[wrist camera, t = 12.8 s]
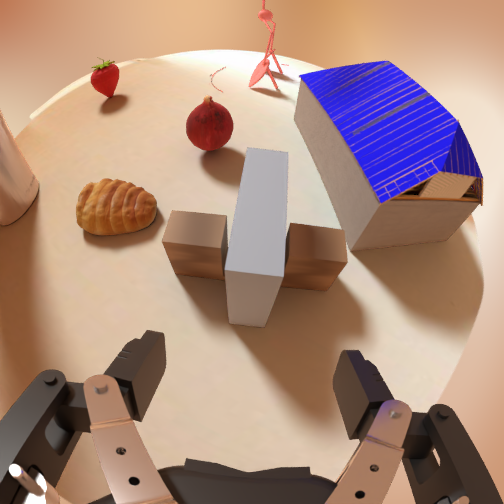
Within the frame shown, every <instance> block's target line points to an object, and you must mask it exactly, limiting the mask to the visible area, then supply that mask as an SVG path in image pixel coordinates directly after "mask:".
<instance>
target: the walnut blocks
mask: <svg viewBox="0 0 504 504" xmlns="http://www.w3.org/2000/svg"><path fill="white" fill-rule="evenodd" d="M162 243H163V245H164V248H165V250H166V253H167V255H168V258H169V260H170V263H171V265H172V267H173V270H174V272H175V274H180V275H187V276H195V277H203V278H210V279H218V280H225V265H226V259H227V253H228V248H229V247H228V240H227V216H226V215H217V214H206V213H196V212H185V211H173V210H172V212H171V215H170V218H169V221H168V224H167V227H166V230H165V233H164V236H163V239H162ZM347 263H348V261H347V250H346V240H345V231H344V230H340V229H333V228H326V227H319V226H311V225H304V224H296V223H290V226H289V229H288V233H287V236H286V243H285V263H284V277H283V280H282V283H281V286H280V287H290V288H300V289H311V290H321V291H327V290H328V288H329V287H330V286H331V284H332V283H333V282H334V280H335V279H336V278H337V276H338V275H339V274H340V272H341V271H342V270H343V268H344V267H345V265H346V264H347Z"/></svg>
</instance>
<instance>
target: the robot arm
mask: <svg viewBox="0 0 504 504" xmlns="http://www.w3.org/2000/svg"><path fill="white" fill-rule="evenodd" d="M38 188H39V183H38V180H37V179H36V177H35V175H34V174H33V172H32V170H31V169H30V167H29V165H28V163H27V162H26V160H25V158H24V156H23V154H22V153H21V151H20V149H19V147H18V145H17V143H16V141H15V139H14V138H13V135H12V133H11V131H10V129H9V127H8V125H7V123H6V121H5V119H4V116H3V114H2V112H1V110H0V224H1V225H8V224H11V223H13V222H14V221H16V220H17V219H18V218H20V217H21V216H22V215H23V214H24V213H25V212H26V210H27V209H28V208H29V207H30V205H31V204H32V202H33V201H34V199H35V197H36V195H37V192H38ZM165 368H166V351H165V337H164V333H161V332H155V331H150V330H147V331H146V332H145V333H144V335H143V336H142V338H141V339H136V338H135V339H133V340H132V341H130V342H128V343H127V344H126V345H125V346H124V348H123V349H122V351H121V352H120V353H119V354H118V357H116V358H115V359H114V361H113V362H112V363H111V365H110V366H109V367H108V369H107V370H106V371H105V373H104V374H103V375H95V376H92V377H90V378H88V379H87V380H86V381H85V383H74V382H67V381H66V378H65V376H64V374H63V373H62V372H60V371H58V370H46V371H43V372H41V373H40V374H39V375H38V376H37V377H36V378H35V379H34V380H33V382H32V383H31V384H30V385H29V386H28V388H27V389H26V390H25V391H24V392H23V394H22V395H21V396H20V397H19V398H18V400H17V401H16V402H15V403H14V405H13V406H12V407H11V408H10V410H9V411H8V412H7V413H6V415H5V416H4V417H3V419H2V420H1V421H0V504H60V498H59V494H58V493H57V491H56V490H55V487H56V485H57V483H58V481H59V478H60V476H61V474H62V472H63V470H64V468H65V466H66V464H67V462H68V460H69V458H70V456H71V454H72V452H73V450H74V448H75V446H76V444H77V442H78V440H79V438H80V436H81V434H82V432H89V433H91V434H92V437H93V441H94V444H95V448H96V451H97V454H98V457H99V460H100V463H101V466H102V469H103V472H104V475H105V477H106V480H107V483H108V485H109V488H110V490H111V494H109V495H107V496H105V497H103V498H100V499H98V500H96V501H93V502H91V503H88V504H382V502H383V500H384V498H385V495H386V494H387V492H388V489H389V487H390V485H391V483H392V480H393V478H394V476H395V474H396V471H397V469H398V466H399V464H400V461H401V459H402V462H403V465H404V468H405V471H406V474H407V476H408V480H409V483H410V486H411V489H412V493H413V496H414V499H415V502H416V504H503V502H502V499H501V497H500V495H499V493H498V490H497V488H496V486H495V484H494V482H493V480H492V478H491V476H490V474H489V472H488V470H487V468H486V466H485V464H484V462H483V460H482V458H481V457H480V455H479V453H478V451H477V449H476V447H475V446H474V444H473V442H472V440H471V439H470V437H469V435H468V433H467V432H466V430H465V428H464V427H463V425H462V423H461V422H460V420H459V418H458V417H457V416H456V414H455V412H454V411H453V409H452V408H450V407H449V406H447V405H444V404H435V405H433V406H432V407H431V408H430V409H429V411H428V412H427V413H419V412H412V411H411V409H410V407H409V406H408V405H407V404H406V403H404V402H402V401H399V400H395V399H394V398H393V396H392V394H391V392H390V390H389V389H388V387H387V385H386V383H385V381H383V378H382V376H381V375H380V373H379V371H378V369H377V367H376V366H375V365H374V364H372V363H371V362H370V361H369V360H365V359H364V358H363V356H362V354H361V352H360V351H359V350H343V351H342V352H341V355H340V358H339V361H338V364H337V367H336V371H335V374H334V377H333V389H334V392H335V395H336V398H337V402H338V405H339V408H340V411H341V414H342V417H343V421H344V424H345V427H346V430H347V434H348V437H349V440H352V439H359V441H360V443H359V445H358V447H357V448H356V450H355V452H354V453H353V455H352V457H351V458H350V460H349V462H348V463H347V465H346V466H345V468H344V469H343V471H342V473H341V474H340V476H339V477H338V478H337V480H336V481H335V482H333V481H331V480H329V479H327V478H324V477H321V476H317V475H312V474H311V473H310V467H280V468H274V469H269V470H263V471H256V472H244V471H240V470H237V469H233V468H230V467H227V466H224V465H221V464H218V463H212V462H205V461H199V460H193V459H188V458H186V461H185V465H184V466H172V467H166V468H163V469H159V470H157V469H156V468H155V466H154V464H153V462H152V460H151V458H150V456H149V454H148V452H147V450H146V448H145V446H144V444H143V442H142V440H141V438H140V435H139V433H138V431H137V429H136V426H135V424H134V422H133V420H136V421H139V422H142V420H143V417H144V415H145V413H146V411H147V409H148V407H149V404H150V402H151V400H152V398H153V396H154V394H155V391H156V389H157V387H158V385H159V383H160V381H161V379H162V377H163V374H164V372H165ZM434 448H435V449H436V451H437V453H438V456H439V458H440V466H439V465H438V463H437V460H436V458H435V456H434V454H433V450H434Z"/></svg>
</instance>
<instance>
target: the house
mask: <svg viewBox="0 0 504 504" xmlns="http://www.w3.org/2000/svg"><path fill="white" fill-rule="evenodd" d="M299 77H301V82H300V88H299V94H298V99H297V105H296V110H295V115H294V121H295V123H296V125H297V127H298V129H299V131H300V133H301V135H302V137H303V139H304V141H305V143H306V145H307V148H308V150H309V152H310V154H311V156H312V158H313V161H314V163H315V165H316V167H317V170H318V172H319V174H320V176H321V179H322V181H323V183H324V186H325V188H326V190H327V193H328V195H329V198H330V200H331V203H332V205H333V208H334V210H335V213H336V215H337V218H338V221H339V223H340V226H341V228H342V230H344V231H345V239H346V242H347V245H348V248H349V251H358V250H368V249H377V248H386V247H394V246H403V245H412V244H421V243H429V242H438V241H446V240H447V239H448V238H449V237H450V236H451V235H452V234H453V233H454V232H455V231H456V230H457V229H458V228H459V226H460V225H461V224H462V223H463V222H464V221H465V220H466V219H467V218H468V217H469V215H470V214H471V213H472V212H473V211H474V210H475V209H476V207H477V206H478V205H479V204H481V206H482V205H483V176H482V174H481V171H480V168H479V166H478V163H477V162H476V158H475V156H474V154H473V152H472V149H471V147H470V144H469V142H468V140H467V138H466V136H465V134H464V132H463V130H462V128H461V126H460V124H459V120H456V119H455V118H454V117H453V116H452V115H451V114H450V113H449V112H448V111H447V110H446V109H445V108H444V107H443V106H442V105H441V104H440V103H439V102H438V101H437V100H436V99H435V98H434V97H433V96H432V95H430V94H429V93H428V92H427V91H426V90H425V89H424V88H422V87H421V86H420V85H419V84H418V83H417V82H415V81H414V80H413V79H411V78H410V77H409V76H408V75H406V74H405V73H404V72H403V71H402V70H400V69H399V68H398V67H396V66H395V65H394V64H392V63H391V62H389V61H379V62H371V63H362V64H355V65H349V66H342V67H337V68H331V69H326V70H321V71H316V72H312V73H307V74H303V75H299ZM471 187H472V188H471ZM402 193H417V194H419V195H401V194H402Z"/></svg>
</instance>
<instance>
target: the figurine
mask: <svg viewBox="0 0 504 504" xmlns="http://www.w3.org/2000/svg"><path fill="white" fill-rule="evenodd" d="M262 2H263V5H262V6H263V10H261V11H260V12H259V14H258V17H259V19H260V20H261V21H264V22H265V24H266V26H267V27H268V29H269V31H270V32H271V35H270V38H269V42H268V46H267V50H266V54H265V58H264V59H263V60H262V61H261V62H260V63H259V64H258V65H257V67H256V69H255V70H254V72H253V74H252V76H251V80H250V83H249V87H251V86H253V85H254V84H256V83H257V82H258V81H259V80H260V79H261V78H262V77H263V76H264V74H265V73H266V71H267V72H268V74H269V76H270V78H271V80H272V82H273V84H274V86H275V88H278V86H277V84H276V82H275V80H274V78H273V75H272V73H271V71H270V69H269V64H270V63H269V60H268V59H267V58H268V57H269V56H270V55H271V54H272V57H273V59H274V61H275V63H276V65H277V67H278V69H279V71H280V74H282V73H283V72H282V70H281V68H280V66H279V63H278V61H277V59H276V57H275V55H274V53H273V52H274V51H275V49H274V50H272V45H273V38H274V31H275V23H274V22H273V21H271V19H272V18H273V15H272V13H271V12H270V11H269V10H265V0H263V1H262ZM267 21H270V22H272V23H273V24H274V27H273V32H272V30H271V29H270V27H269V25H268V24H267ZM271 39H272V41H271ZM270 42H271V49H270V51H269V54H268V50H269V46H270ZM267 54H268V55H267ZM282 65H284V64H282ZM287 66H289V65H287ZM224 68H226V67H224ZM222 69H223V68H222ZM220 70H221V69H220ZM218 71H219V70H218ZM218 71H217V72H218ZM214 74H215V73H214ZM214 74H213V75H214ZM211 75H212V74H211ZM211 75H210V76H211ZM211 79H212V78H211ZM211 82H212V81H211ZM213 86H214V85H213ZM214 87H215V86H214ZM215 88H216V87H215ZM216 89H217V88H216ZM218 90H219V89H218ZM220 91H221V90H220ZM221 92H223V91H221Z"/></svg>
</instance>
